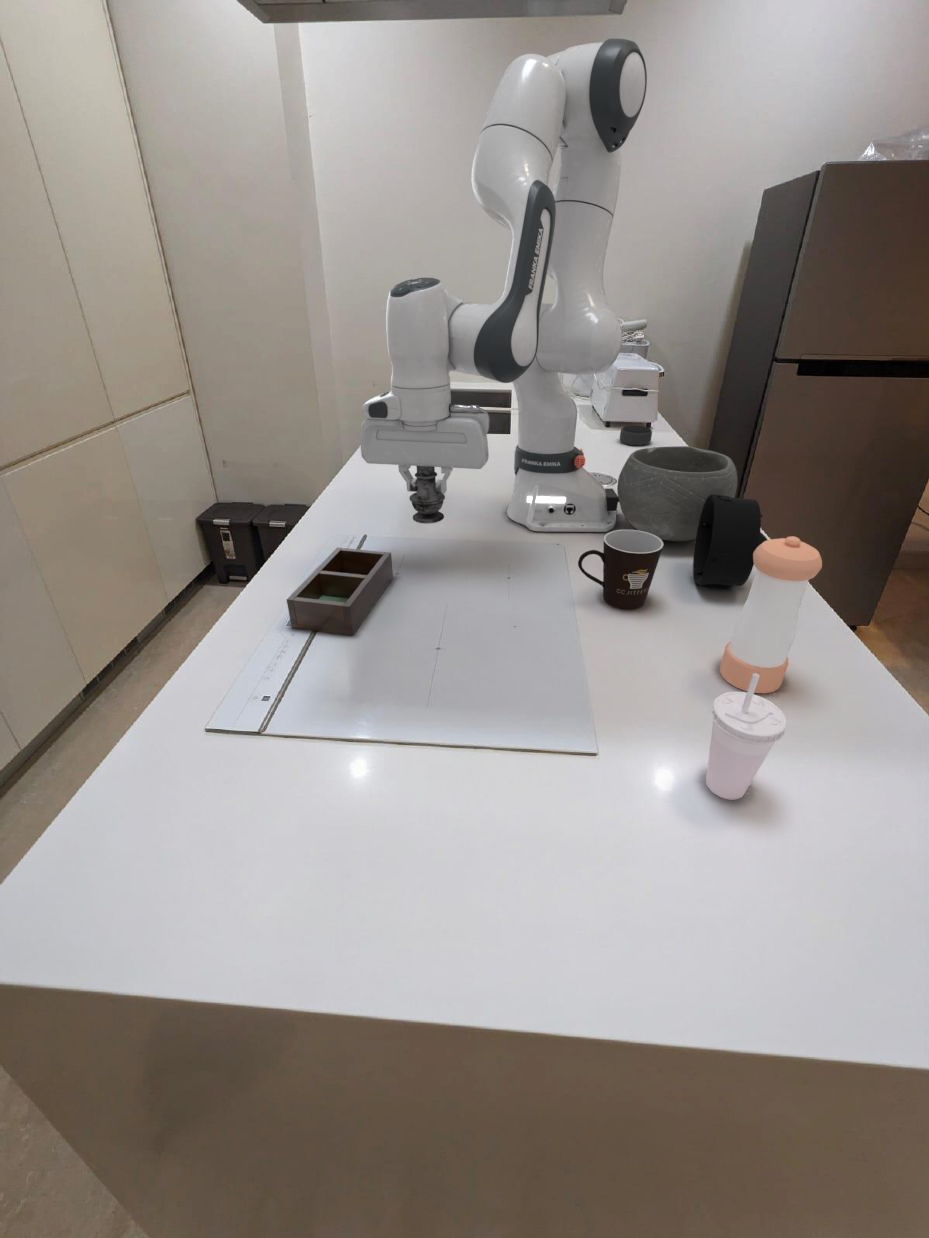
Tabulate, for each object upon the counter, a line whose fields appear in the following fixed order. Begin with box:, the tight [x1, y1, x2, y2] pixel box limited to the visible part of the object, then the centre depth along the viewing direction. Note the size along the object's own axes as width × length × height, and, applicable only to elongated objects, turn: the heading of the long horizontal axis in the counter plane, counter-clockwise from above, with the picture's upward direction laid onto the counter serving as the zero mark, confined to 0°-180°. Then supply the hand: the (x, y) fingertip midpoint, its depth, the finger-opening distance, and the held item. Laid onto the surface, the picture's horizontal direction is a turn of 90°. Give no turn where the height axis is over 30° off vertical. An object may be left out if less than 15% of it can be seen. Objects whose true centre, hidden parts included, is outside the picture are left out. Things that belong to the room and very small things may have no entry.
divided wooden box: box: [286, 546, 394, 637], centre depth 89 cm, size 10×18×5 cm, turn 168°
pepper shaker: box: [719, 535, 823, 694], centre depth 69 cm, size 7×7×19 cm
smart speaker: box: [619, 425, 653, 447], centre depth 169 cm, size 9×9×4 cm
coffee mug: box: [577, 529, 665, 611], centre depth 89 cm, size 12×9×10 cm
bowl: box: [616, 445, 738, 542], centre depth 109 cm, size 21×21×15 cm
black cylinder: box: [692, 494, 768, 589], centre depth 92 cm, size 14×14×10 cm
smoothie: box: [705, 673, 788, 801], centre depth 55 cm, size 6×6×14 cm
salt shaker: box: [408, 466, 446, 525], centre depth 94 cm, size 6×6×12 cm
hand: (426, 491), depth 95 cm, fingers closed on salt shaker, 3 cm apart
